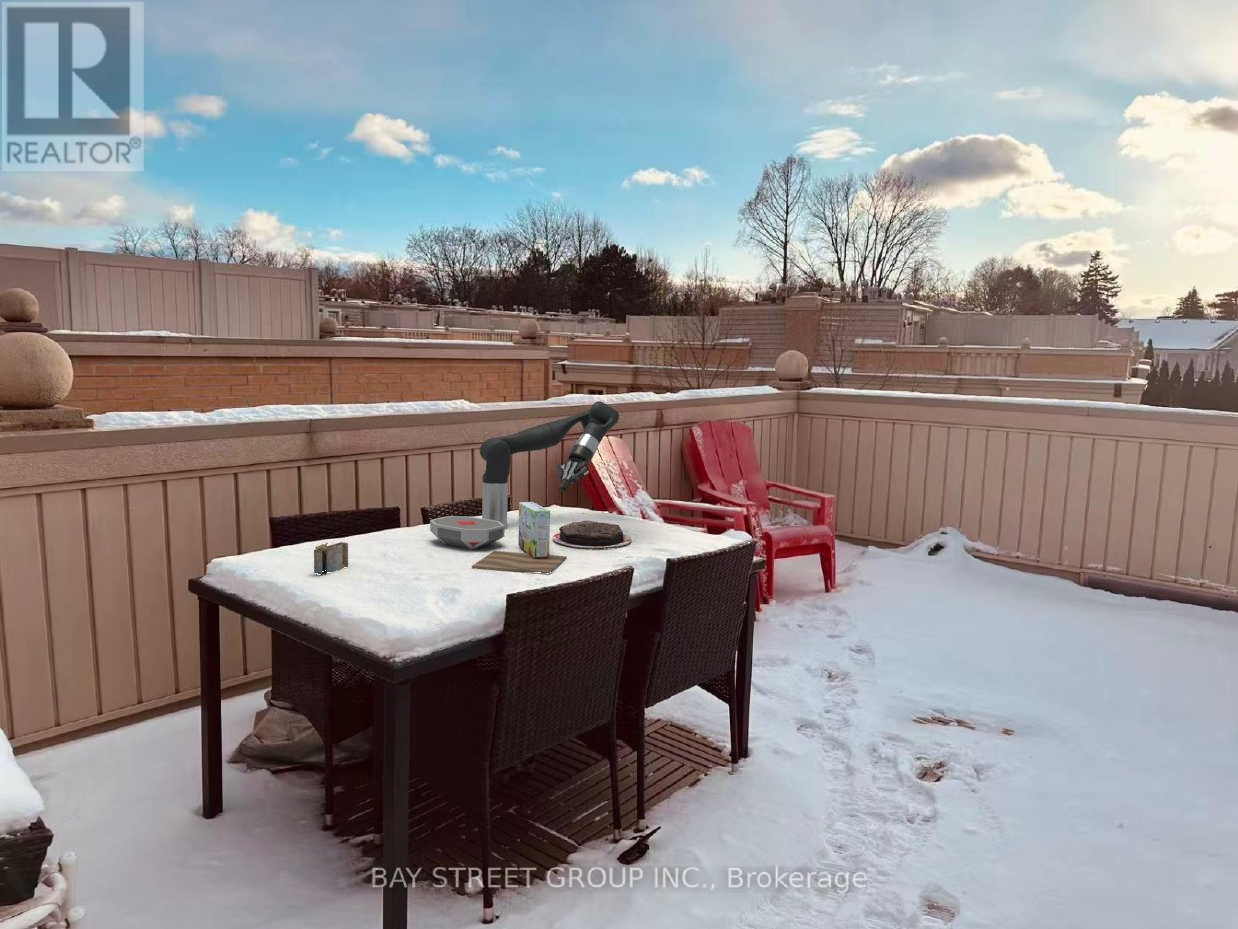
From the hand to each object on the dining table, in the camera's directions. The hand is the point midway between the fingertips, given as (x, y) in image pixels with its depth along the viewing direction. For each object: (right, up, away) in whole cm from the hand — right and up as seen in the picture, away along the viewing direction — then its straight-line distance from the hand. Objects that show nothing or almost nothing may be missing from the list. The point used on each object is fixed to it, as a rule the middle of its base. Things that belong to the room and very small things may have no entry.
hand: (561, 490), depth 264 cm
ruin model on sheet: (-64, -23, -35) cm, 76 cm away
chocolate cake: (+9, -19, +16) cm, 26 cm away
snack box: (-9, -20, -7) cm, 23 cm away
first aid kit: (-32, -19, +4) cm, 38 cm away
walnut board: (-11, -22, -19) cm, 31 cm away
